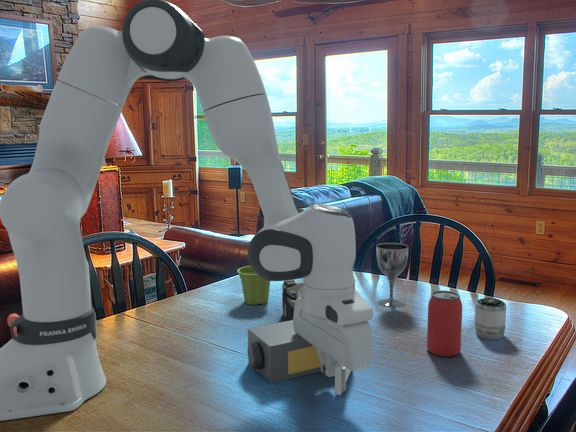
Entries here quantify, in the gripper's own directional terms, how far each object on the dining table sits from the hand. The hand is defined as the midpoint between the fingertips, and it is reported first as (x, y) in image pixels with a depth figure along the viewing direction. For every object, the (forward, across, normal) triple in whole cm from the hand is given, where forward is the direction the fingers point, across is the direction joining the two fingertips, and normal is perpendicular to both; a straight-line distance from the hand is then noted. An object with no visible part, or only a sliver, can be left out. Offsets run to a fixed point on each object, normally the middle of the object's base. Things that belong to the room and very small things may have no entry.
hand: (328, 374), depth 100 cm
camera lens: (+2, -4, +44) cm, 44 cm away
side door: (+2, 0, +4) cm, 4 cm away
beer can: (+2, -2, +29) cm, 29 cm away
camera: (+3, -31, +13) cm, 34 cm away
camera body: (+2, -11, 0) cm, 11 cm away
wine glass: (+3, -32, +39) cm, 50 cm away
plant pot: (+3, -50, +9) cm, 51 cm away
